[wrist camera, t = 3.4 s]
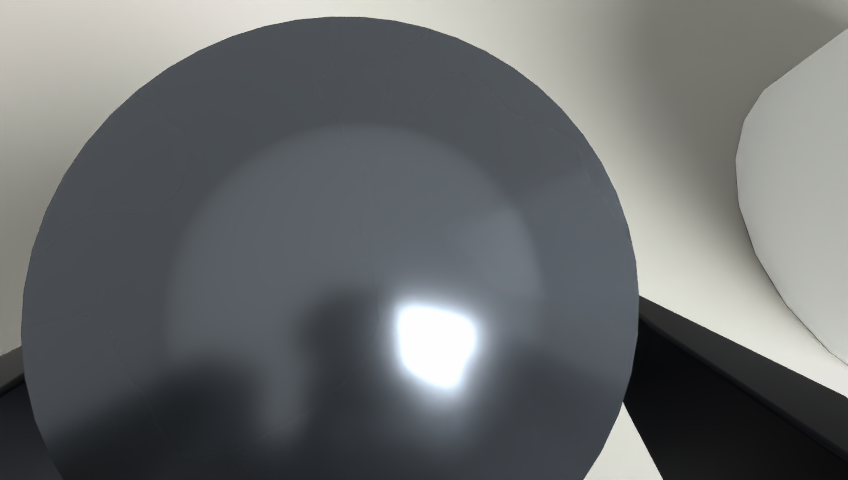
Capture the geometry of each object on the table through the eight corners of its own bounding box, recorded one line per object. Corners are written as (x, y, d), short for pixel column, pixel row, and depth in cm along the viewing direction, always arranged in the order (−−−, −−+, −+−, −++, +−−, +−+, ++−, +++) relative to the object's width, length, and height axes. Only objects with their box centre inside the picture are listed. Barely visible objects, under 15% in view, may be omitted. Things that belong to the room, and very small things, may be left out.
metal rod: (401, 430, 14) (474, 791, 2) (297, 366, 14) (-141, 371, 2) (459, 322, 15) (711, 170, 3) (362, 266, 15) (278, -58, 4)
